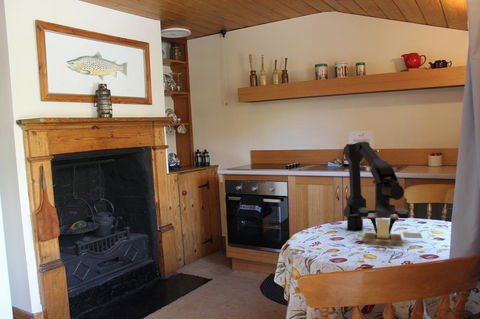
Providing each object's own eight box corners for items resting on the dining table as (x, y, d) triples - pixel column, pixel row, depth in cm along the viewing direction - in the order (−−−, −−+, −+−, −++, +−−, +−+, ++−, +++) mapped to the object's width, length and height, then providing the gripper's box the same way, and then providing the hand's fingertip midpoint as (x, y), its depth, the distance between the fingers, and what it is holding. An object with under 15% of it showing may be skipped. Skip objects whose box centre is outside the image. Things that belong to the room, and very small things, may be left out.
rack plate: (364, 246, 162) (364, 240, 161) (365, 238, 173) (365, 232, 173) (402, 248, 157) (402, 242, 157) (400, 240, 169) (400, 234, 168)
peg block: (377, 241, 164) (377, 221, 163) (377, 238, 168) (376, 219, 167) (388, 241, 162) (388, 222, 162) (388, 238, 166) (388, 219, 166)
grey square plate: (404, 239, 169) (404, 237, 169) (402, 234, 177) (402, 232, 177) (422, 240, 167) (422, 238, 167) (420, 235, 175) (420, 233, 174)
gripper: (357, 198, 159) (358, 237, 160) (409, 199, 153) (409, 240, 154) (358, 193, 169) (359, 230, 171) (407, 194, 164) (407, 232, 165)
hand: (382, 233), depth 165 cm, fingers open, 4 cm apart
